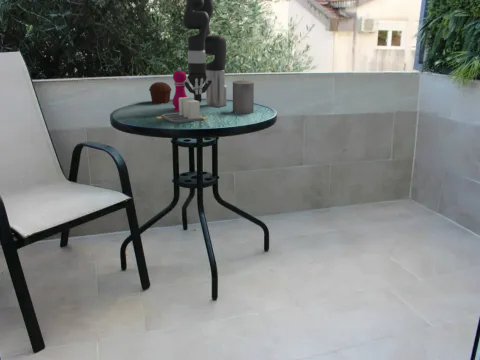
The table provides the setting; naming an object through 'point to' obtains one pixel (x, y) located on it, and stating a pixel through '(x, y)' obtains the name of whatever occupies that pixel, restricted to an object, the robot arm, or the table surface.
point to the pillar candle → (243, 96)
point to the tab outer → (193, 109)
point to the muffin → (160, 92)
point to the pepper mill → (179, 87)
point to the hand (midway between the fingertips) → (197, 102)
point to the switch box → (179, 118)
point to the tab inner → (181, 105)
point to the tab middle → (186, 106)
